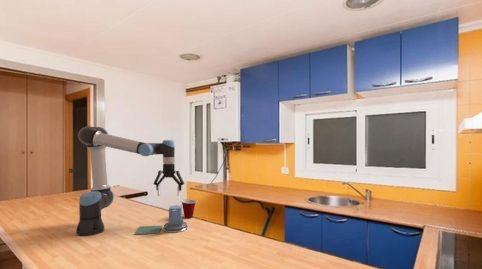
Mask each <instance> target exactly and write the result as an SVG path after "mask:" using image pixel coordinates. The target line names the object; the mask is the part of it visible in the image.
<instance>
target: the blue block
mask: <svg viewBox="0 0 482 269" xmlns="http://www.w3.org/2000/svg"><path fill="white" fill-rule="evenodd" d="M182 211H183V205H182V204H181V205H180V204H179V205H178V204H176V205H170V206H169V207H168V222H169V225H181V223H182V219H183V218H182V213H183V212H182Z"/></svg>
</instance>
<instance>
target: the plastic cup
mask: <svg viewBox="0 0 482 269" xmlns="http://www.w3.org/2000/svg"><path fill="white" fill-rule="evenodd" d="M180 201H181V205H182V211H183V212H182V213H183V216H184V218H185V219H191V218H193V217H194V211H195V208H196V203H197V200H196V199H192V198H191V199H190V198H187V199H182V200H180Z"/></svg>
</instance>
